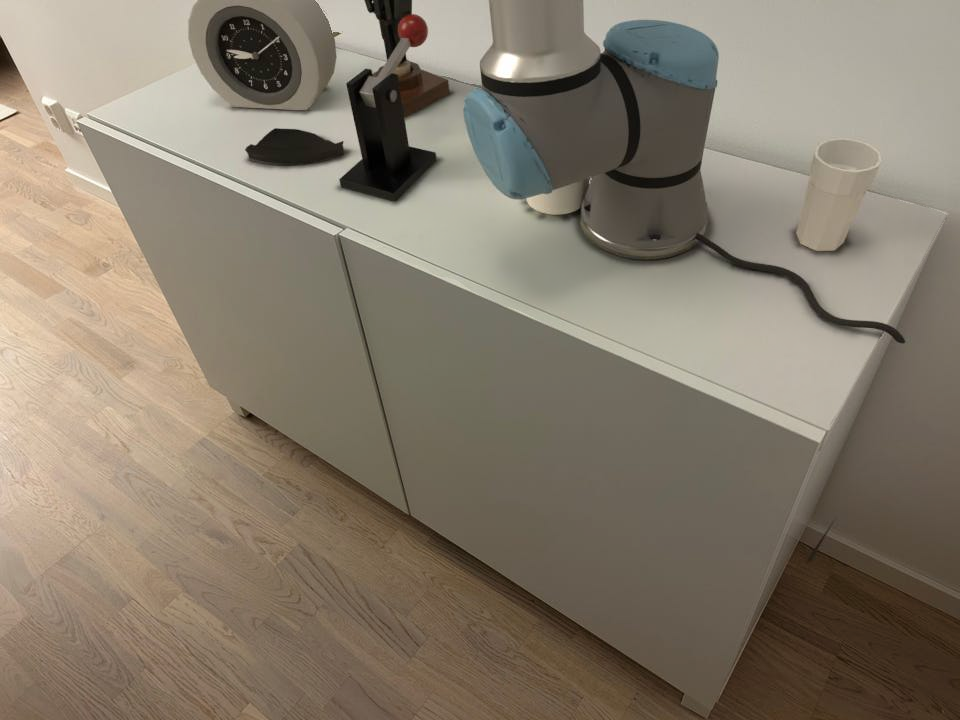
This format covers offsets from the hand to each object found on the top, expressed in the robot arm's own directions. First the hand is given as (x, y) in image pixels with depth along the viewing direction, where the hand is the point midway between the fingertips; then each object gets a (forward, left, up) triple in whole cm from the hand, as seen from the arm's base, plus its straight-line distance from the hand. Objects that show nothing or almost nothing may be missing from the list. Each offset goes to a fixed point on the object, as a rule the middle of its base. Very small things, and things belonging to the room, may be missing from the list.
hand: (397, 62), depth 113 cm
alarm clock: (+16, +13, -5) cm, 22 cm away
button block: (0, 0, -5) cm, 5 cm away
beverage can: (-39, +8, -6) cm, 40 cm away
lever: (-14, +11, +7) cm, 19 cm away
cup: (-68, -5, -6) cm, 68 cm away
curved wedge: (0, +22, -6) cm, 23 cm away
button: (0, 0, -2) cm, 2 cm away
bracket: (-16, +17, -5) cm, 24 cm away
